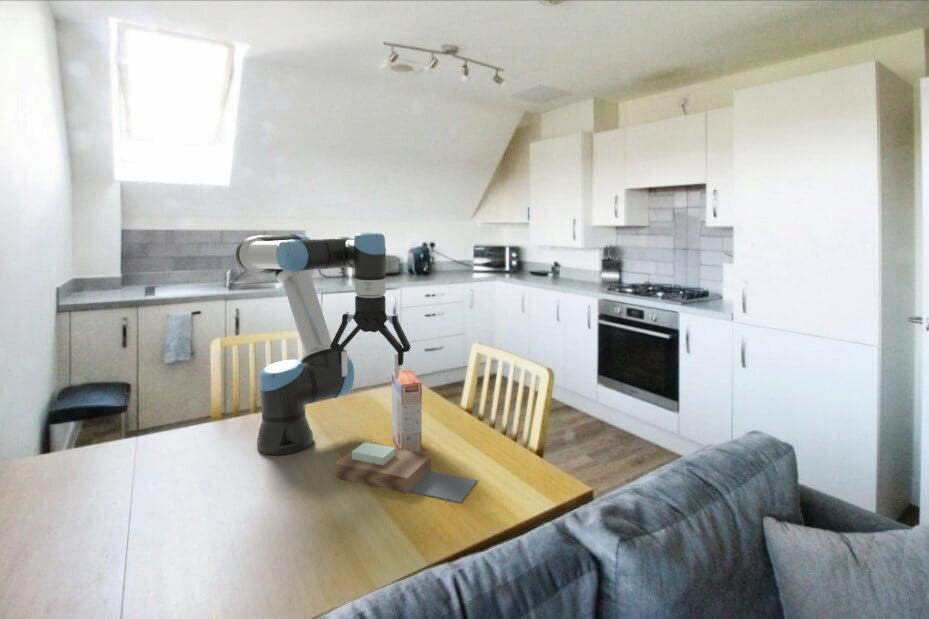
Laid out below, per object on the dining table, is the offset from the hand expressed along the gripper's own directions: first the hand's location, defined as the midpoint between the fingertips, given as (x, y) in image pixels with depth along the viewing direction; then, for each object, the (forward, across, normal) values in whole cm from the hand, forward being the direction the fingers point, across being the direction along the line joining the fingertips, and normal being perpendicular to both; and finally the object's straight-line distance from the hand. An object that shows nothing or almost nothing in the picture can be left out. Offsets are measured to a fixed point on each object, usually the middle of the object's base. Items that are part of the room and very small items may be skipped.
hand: (370, 376), depth 138 cm
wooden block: (+23, +5, -8) cm, 25 cm away
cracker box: (+24, +8, +8) cm, 26 cm away
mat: (+22, +20, -14) cm, 33 cm away
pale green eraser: (+19, +2, -7) cm, 20 cm away
